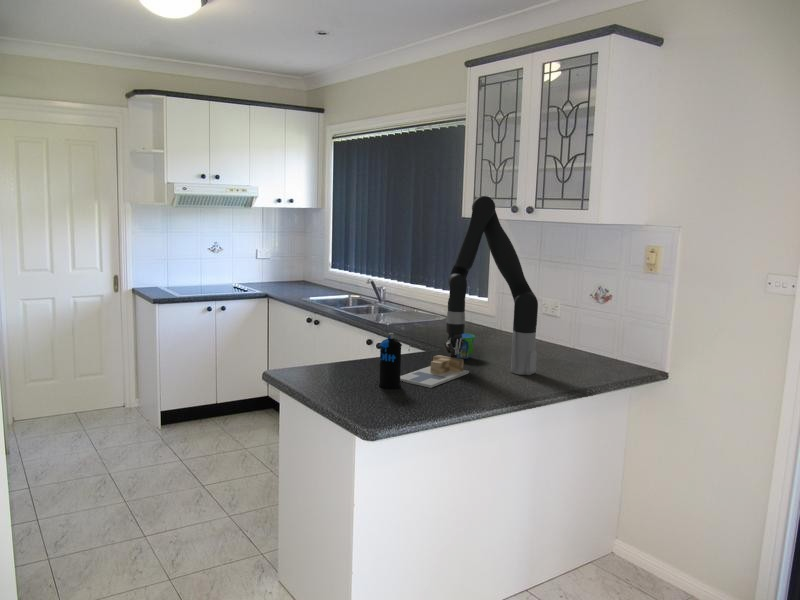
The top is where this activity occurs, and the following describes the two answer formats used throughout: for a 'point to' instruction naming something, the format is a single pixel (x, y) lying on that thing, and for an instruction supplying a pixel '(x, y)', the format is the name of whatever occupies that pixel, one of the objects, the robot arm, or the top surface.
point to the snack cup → (466, 346)
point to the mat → (430, 377)
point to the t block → (446, 364)
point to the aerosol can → (390, 363)
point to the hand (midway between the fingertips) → (453, 362)
